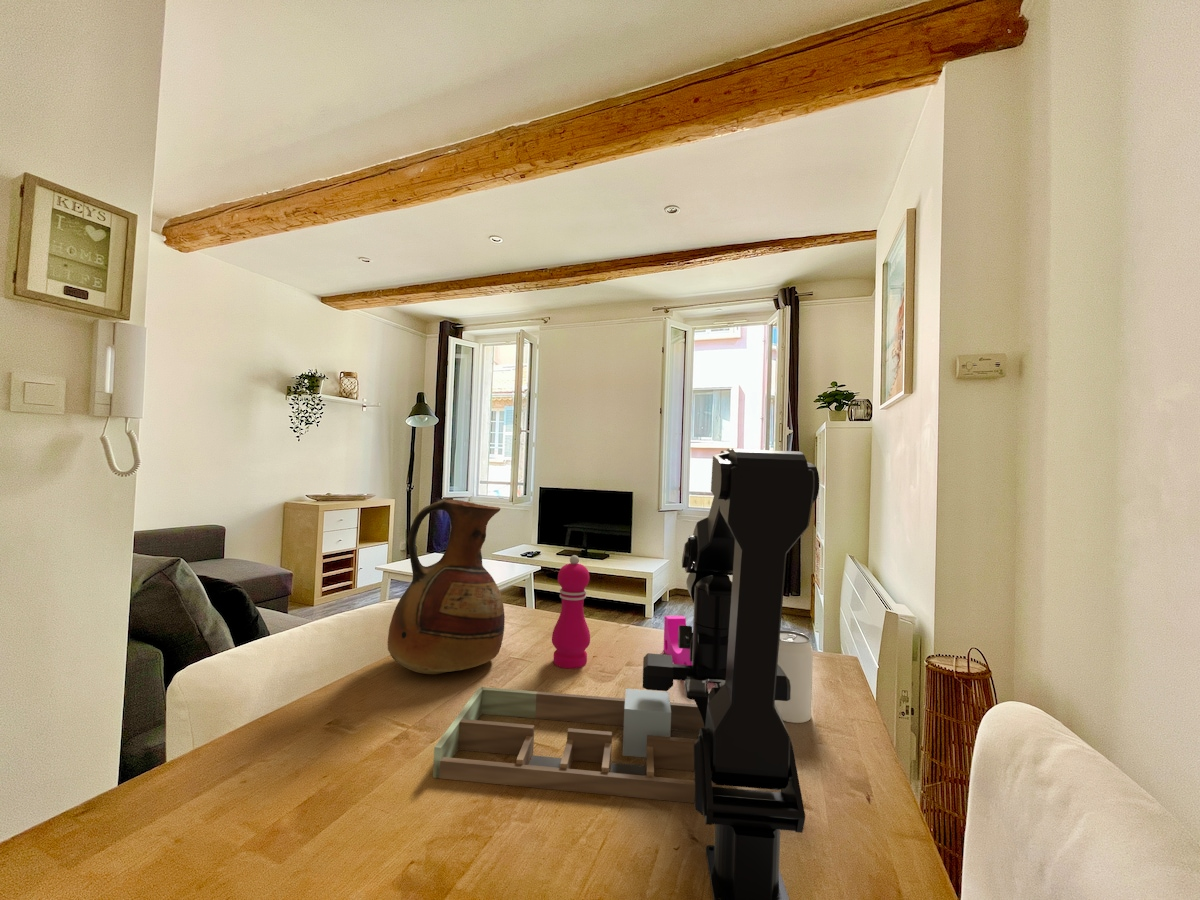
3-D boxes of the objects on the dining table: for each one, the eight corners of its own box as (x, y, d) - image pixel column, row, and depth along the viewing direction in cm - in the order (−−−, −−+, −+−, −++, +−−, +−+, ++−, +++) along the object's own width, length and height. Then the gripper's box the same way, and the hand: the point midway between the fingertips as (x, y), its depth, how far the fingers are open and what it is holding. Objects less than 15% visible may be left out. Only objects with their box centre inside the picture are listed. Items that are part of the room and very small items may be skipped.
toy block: (722, 684, 89) (724, 640, 89) (688, 685, 88) (690, 641, 88) (692, 652, 104) (694, 615, 104) (663, 653, 103) (664, 615, 103)
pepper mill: (545, 657, 97) (550, 552, 98) (580, 653, 100) (584, 551, 101) (558, 672, 90) (563, 559, 91) (595, 667, 93) (600, 558, 94)
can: (762, 717, 77) (765, 637, 77) (770, 701, 83) (772, 626, 83) (808, 729, 74) (811, 646, 74) (813, 711, 80) (815, 634, 80)
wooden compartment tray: (722, 805, 56) (723, 773, 56) (432, 777, 59) (434, 747, 59) (704, 729, 73) (705, 705, 73) (478, 710, 75) (479, 686, 75)
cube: (669, 760, 65) (671, 712, 65) (622, 756, 65) (624, 708, 66) (667, 735, 71) (668, 691, 71) (624, 731, 71) (625, 688, 72)
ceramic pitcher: (512, 679, 87) (520, 504, 88) (384, 694, 79) (394, 502, 80) (492, 640, 105) (499, 495, 106) (387, 650, 97) (395, 494, 98)
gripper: (771, 610, 75) (768, 717, 75) (645, 601, 77) (641, 706, 76) (793, 635, 64) (789, 761, 63) (645, 624, 66) (640, 747, 65)
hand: (710, 740), depth 67 cm, fingers closed
